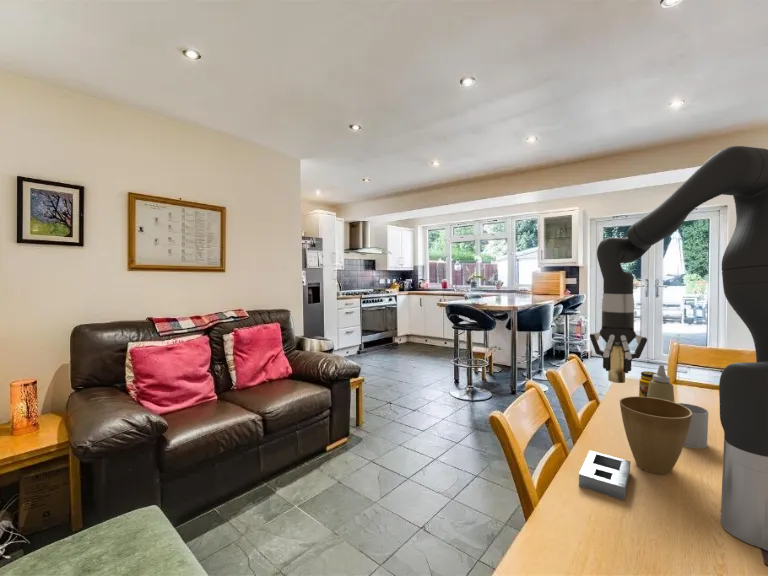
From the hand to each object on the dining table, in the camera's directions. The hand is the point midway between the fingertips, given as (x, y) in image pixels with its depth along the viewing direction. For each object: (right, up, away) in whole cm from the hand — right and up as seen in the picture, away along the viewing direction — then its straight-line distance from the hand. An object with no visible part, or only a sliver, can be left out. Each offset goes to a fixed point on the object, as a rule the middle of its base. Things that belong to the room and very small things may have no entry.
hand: (616, 371), depth 102 cm
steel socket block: (-11, -23, -13) cm, 29 cm away
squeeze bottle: (+30, -21, +24) cm, 44 cm away
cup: (+25, -22, +6) cm, 34 cm away
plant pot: (+4, -23, -7) cm, 25 cm away
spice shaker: (0, -3, 0) cm, 3 cm away
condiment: (+35, -21, +36) cm, 54 cm away
